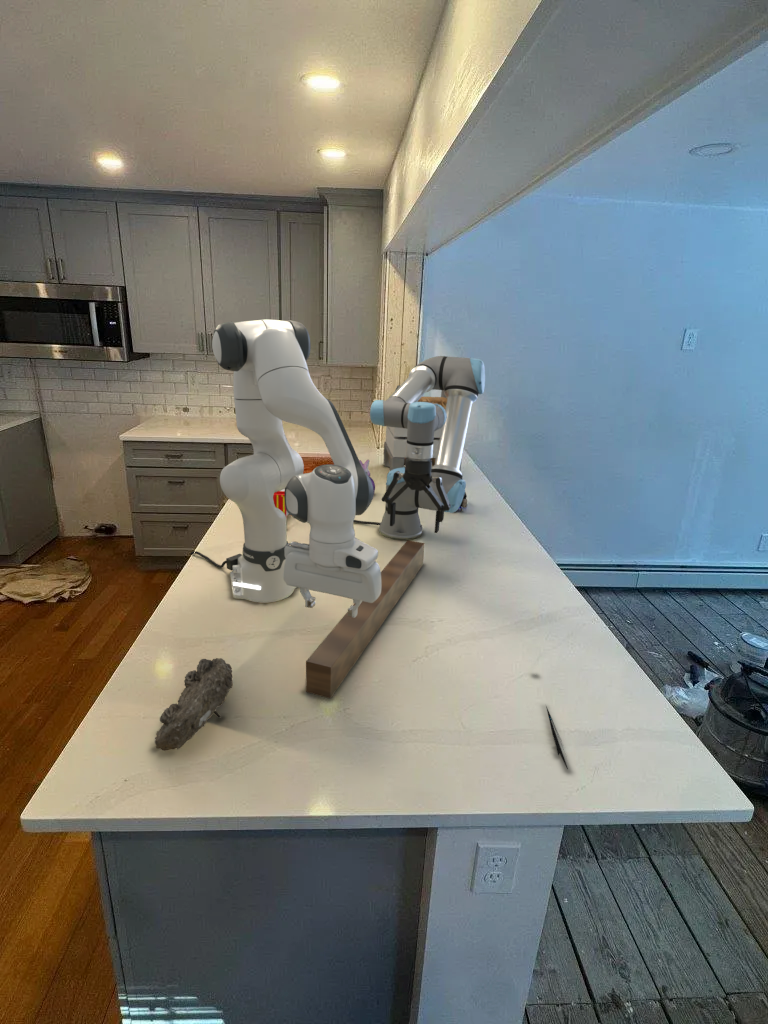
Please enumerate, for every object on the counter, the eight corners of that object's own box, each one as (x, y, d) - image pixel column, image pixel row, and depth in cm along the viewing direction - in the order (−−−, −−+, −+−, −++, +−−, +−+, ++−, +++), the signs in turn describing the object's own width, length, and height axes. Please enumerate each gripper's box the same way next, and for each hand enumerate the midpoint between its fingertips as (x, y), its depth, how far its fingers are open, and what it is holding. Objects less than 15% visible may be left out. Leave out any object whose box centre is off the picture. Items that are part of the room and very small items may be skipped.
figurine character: (467, 516, 223) (461, 500, 237) (469, 499, 220) (463, 483, 233) (450, 516, 223) (446, 499, 236) (452, 498, 220) (447, 483, 233)
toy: (299, 479, 223) (289, 492, 194) (299, 512, 226) (289, 530, 197) (268, 478, 223) (253, 491, 193) (268, 512, 225) (254, 529, 196)
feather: (536, 679, 125) (541, 673, 125) (567, 774, 99) (575, 766, 98) (529, 675, 125) (535, 669, 124) (559, 769, 98) (567, 762, 98)
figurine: (360, 499, 233) (361, 464, 228) (349, 492, 242) (350, 458, 237) (380, 497, 237) (381, 462, 232) (369, 490, 246) (370, 456, 241)
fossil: (182, 659, 118) (233, 627, 113) (214, 689, 120) (265, 659, 115) (130, 744, 98) (189, 710, 93) (170, 778, 101) (229, 746, 96)
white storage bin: (382, 463, 289) (386, 382, 275) (445, 464, 293) (451, 384, 279) (390, 482, 257) (394, 392, 243) (460, 483, 261) (468, 394, 247)
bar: (406, 561, 178) (407, 540, 176) (422, 565, 176) (424, 543, 174) (306, 691, 116) (305, 661, 114) (330, 698, 115) (330, 667, 112)
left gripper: (276, 545, 111) (278, 607, 116) (374, 564, 105) (371, 629, 110) (292, 534, 117) (292, 594, 121) (385, 551, 110) (382, 613, 115)
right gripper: (372, 455, 160) (370, 525, 167) (460, 466, 153) (453, 539, 160) (381, 450, 167) (378, 517, 174) (465, 460, 160) (458, 530, 167)
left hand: (331, 611), depth 115 cm, fingers open, 8 cm apart
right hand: (414, 528), depth 167 cm, fingers open, 13 cm apart
